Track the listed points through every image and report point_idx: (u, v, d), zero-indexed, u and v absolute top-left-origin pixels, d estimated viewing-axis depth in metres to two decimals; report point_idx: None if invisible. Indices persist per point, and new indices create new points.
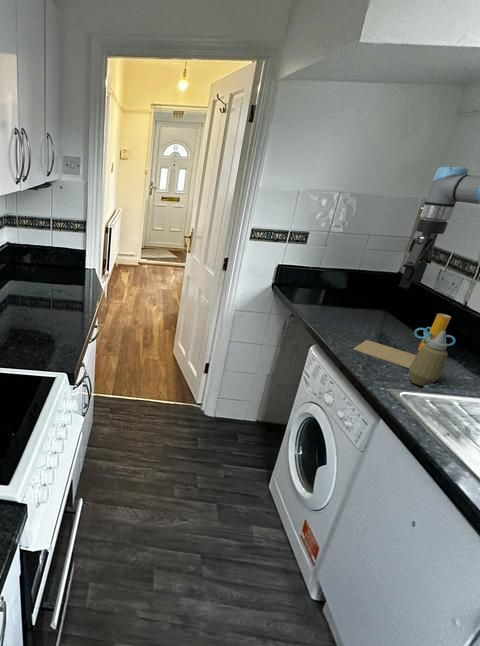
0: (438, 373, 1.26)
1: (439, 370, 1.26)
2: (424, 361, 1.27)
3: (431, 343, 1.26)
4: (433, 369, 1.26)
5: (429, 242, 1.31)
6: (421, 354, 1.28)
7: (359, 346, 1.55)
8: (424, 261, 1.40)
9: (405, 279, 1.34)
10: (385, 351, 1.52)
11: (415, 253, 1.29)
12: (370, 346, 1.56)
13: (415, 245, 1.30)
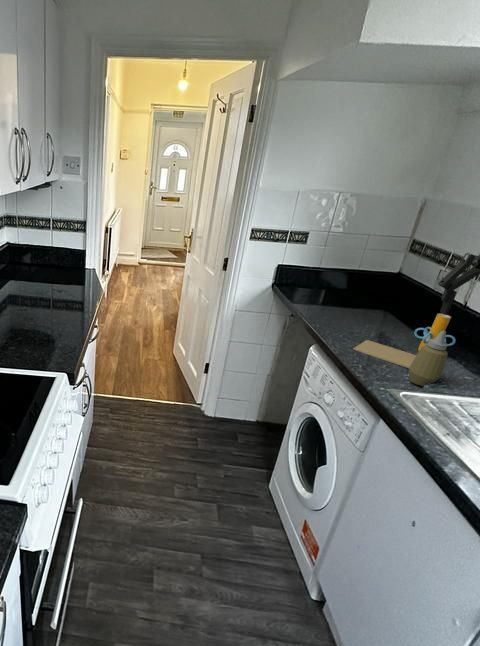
0: (438, 373, 1.26)
1: (439, 370, 1.26)
2: (424, 361, 1.27)
3: (431, 343, 1.26)
4: (433, 369, 1.26)
5: None
6: (421, 354, 1.28)
7: (359, 346, 1.55)
8: None
9: (445, 303, 1.12)
10: (385, 351, 1.52)
11: (453, 271, 1.08)
12: (370, 346, 1.56)
13: (459, 263, 1.08)
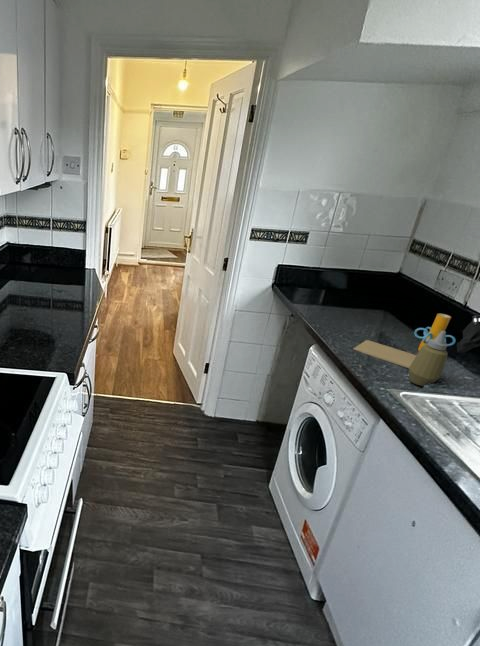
0: (438, 373, 1.26)
1: (439, 370, 1.26)
2: (424, 361, 1.27)
3: (431, 343, 1.26)
4: (433, 369, 1.26)
5: None
6: (421, 354, 1.28)
7: (359, 346, 1.55)
8: None
9: None
10: (385, 351, 1.52)
11: (468, 329, 1.06)
12: (370, 346, 1.56)
13: (472, 322, 1.04)
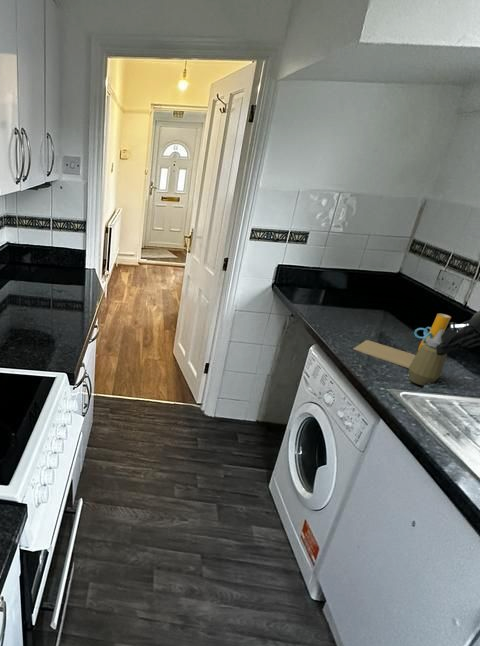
0: (438, 372, 1.26)
1: (439, 369, 1.26)
2: (424, 360, 1.27)
3: (430, 342, 1.26)
4: (433, 367, 1.26)
5: (470, 333, 1.09)
6: (420, 353, 1.28)
7: (359, 346, 1.55)
8: (457, 343, 1.17)
9: None
10: (385, 351, 1.52)
11: (446, 334, 1.14)
12: (370, 346, 1.56)
13: (449, 328, 1.13)
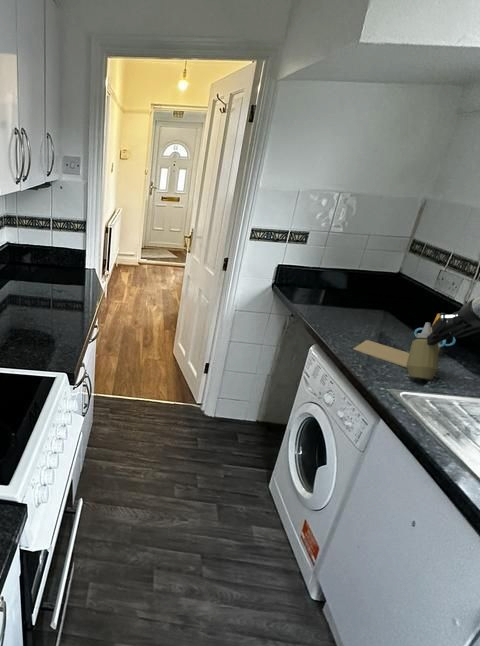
0: (435, 362, 1.28)
1: (435, 359, 1.28)
2: (419, 351, 1.30)
3: (420, 334, 1.32)
4: (429, 357, 1.28)
5: (459, 324, 1.13)
6: (413, 346, 1.32)
7: (359, 346, 1.55)
8: (448, 334, 1.22)
9: None
10: (385, 351, 1.52)
11: (436, 324, 1.19)
12: (370, 346, 1.56)
13: (439, 318, 1.17)
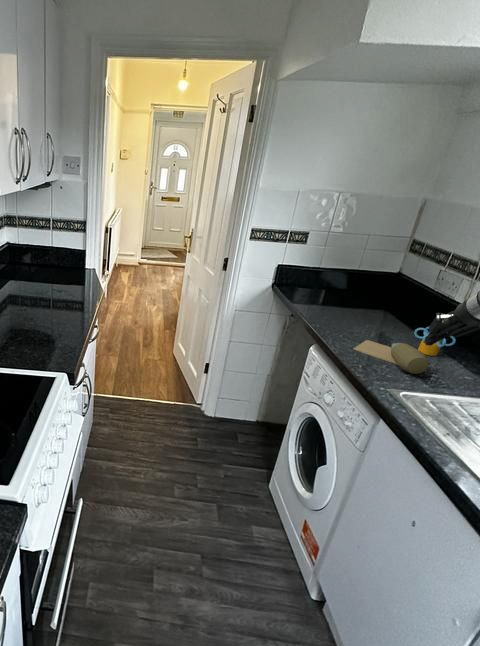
0: None
1: None
2: (399, 348, 1.41)
3: (392, 346, 1.47)
4: (410, 347, 1.39)
5: (455, 323, 1.16)
6: (393, 351, 1.43)
7: (359, 346, 1.55)
8: (444, 333, 1.24)
9: None
10: (385, 351, 1.52)
11: (433, 325, 1.21)
12: (370, 346, 1.56)
13: (435, 318, 1.20)
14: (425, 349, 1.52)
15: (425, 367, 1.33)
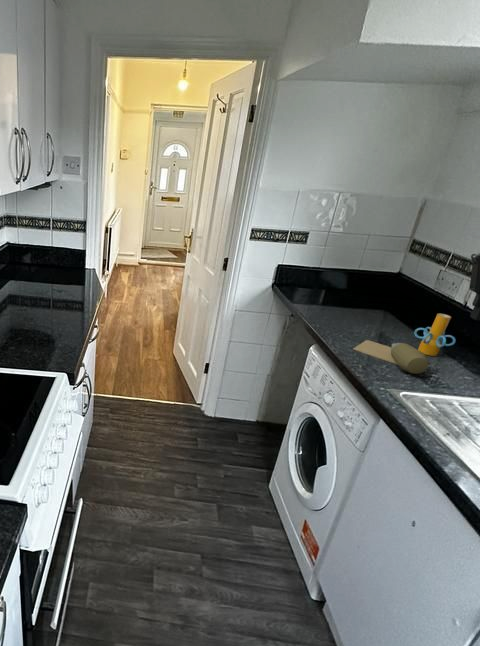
0: None
1: None
2: (399, 348, 1.41)
3: (392, 346, 1.47)
4: (410, 347, 1.39)
5: None
6: (393, 351, 1.43)
7: (359, 346, 1.55)
8: None
9: (476, 308, 1.10)
10: (385, 351, 1.52)
11: (474, 275, 1.07)
12: (370, 346, 1.56)
13: (473, 265, 1.07)
14: (425, 349, 1.52)
15: (425, 367, 1.33)
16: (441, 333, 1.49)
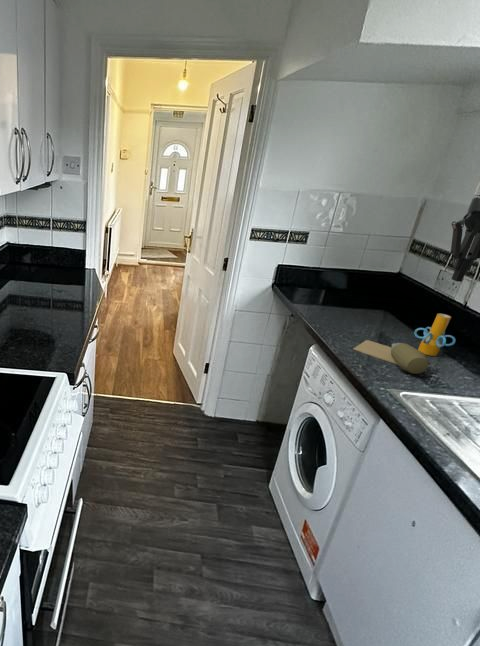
0: None
1: None
2: (399, 348, 1.41)
3: (392, 346, 1.47)
4: (410, 347, 1.39)
5: (474, 225, 1.17)
6: (393, 351, 1.43)
7: (359, 346, 1.55)
8: (469, 257, 1.21)
9: (456, 271, 1.23)
10: (385, 351, 1.52)
11: (454, 240, 1.20)
12: (370, 346, 1.56)
13: (453, 232, 1.20)
14: (425, 349, 1.52)
15: (425, 367, 1.33)
16: (441, 333, 1.49)
